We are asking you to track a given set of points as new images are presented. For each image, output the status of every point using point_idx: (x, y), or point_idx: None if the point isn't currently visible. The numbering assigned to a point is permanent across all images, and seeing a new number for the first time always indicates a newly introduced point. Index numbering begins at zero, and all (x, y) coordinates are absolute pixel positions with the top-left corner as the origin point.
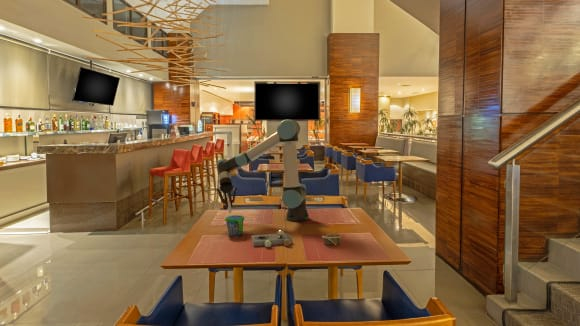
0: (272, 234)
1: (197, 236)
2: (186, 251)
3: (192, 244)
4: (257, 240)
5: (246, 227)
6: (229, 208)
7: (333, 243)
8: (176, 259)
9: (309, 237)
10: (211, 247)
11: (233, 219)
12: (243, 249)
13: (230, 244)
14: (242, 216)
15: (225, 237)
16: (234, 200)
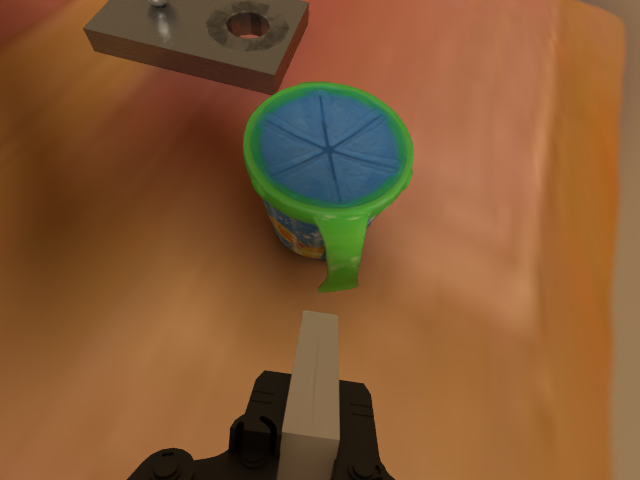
0: (168, 42)
1: (562, 302)
2: (582, 86)
3: (571, 160)
4: (285, 7)
5: (147, 394)
6: (325, 333)
7: None
8: (603, 33)
9: (9, 13)
10: (479, 85)
11: (360, 90)
12: (357, 16)
13: (391, 84)
14: (252, 140)
15: None
16: (155, 459)
